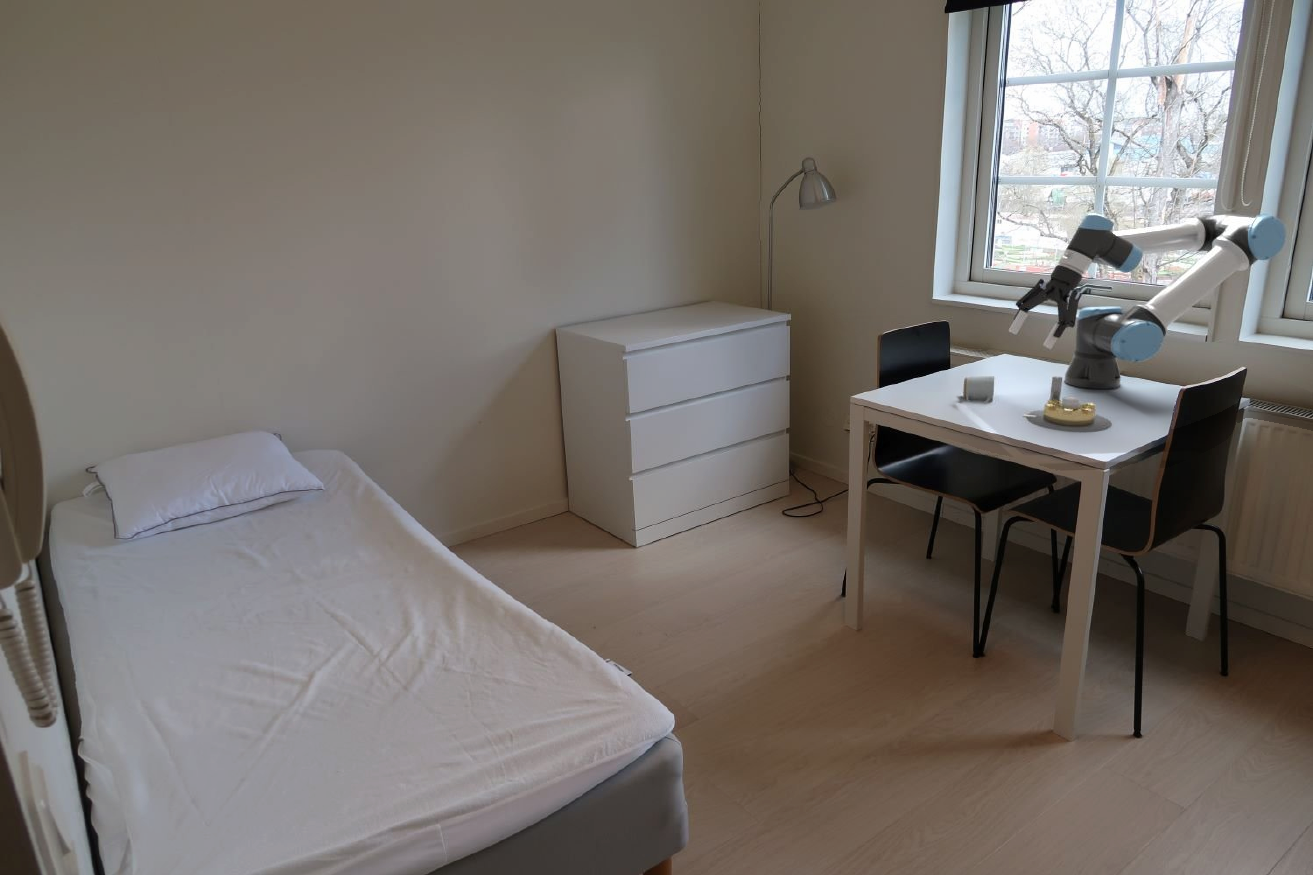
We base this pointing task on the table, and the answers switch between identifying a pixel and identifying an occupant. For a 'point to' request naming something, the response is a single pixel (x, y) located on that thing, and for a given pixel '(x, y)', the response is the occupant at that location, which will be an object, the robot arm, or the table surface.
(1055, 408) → the gold crank wheel
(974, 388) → the ceramic mug
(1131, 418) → the table surface
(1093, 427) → the base
